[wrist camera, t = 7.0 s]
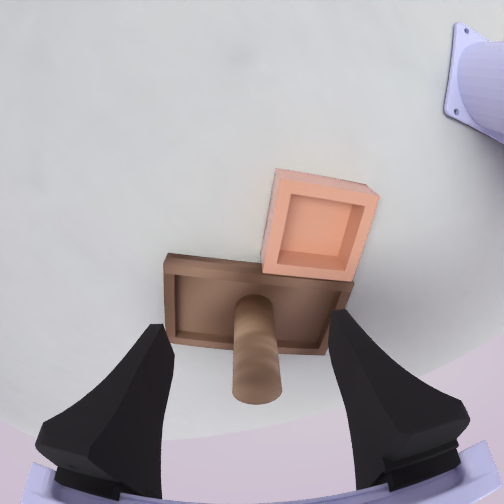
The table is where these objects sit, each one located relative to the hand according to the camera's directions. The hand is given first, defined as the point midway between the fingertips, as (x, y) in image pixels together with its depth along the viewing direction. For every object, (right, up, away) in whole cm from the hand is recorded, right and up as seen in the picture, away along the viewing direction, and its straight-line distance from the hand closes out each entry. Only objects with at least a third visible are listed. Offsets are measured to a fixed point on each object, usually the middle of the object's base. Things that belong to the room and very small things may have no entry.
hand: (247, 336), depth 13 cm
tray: (0, -1, +12) cm, 12 cm away
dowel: (0, -1, +11) cm, 11 cm away
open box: (+4, +6, +8) cm, 11 cm away
